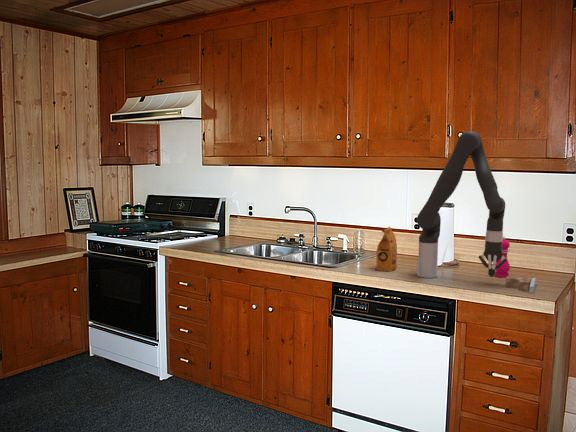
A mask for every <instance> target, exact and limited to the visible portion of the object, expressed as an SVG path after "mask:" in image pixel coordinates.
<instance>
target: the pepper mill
mask: <svg viewBox="0 0 576 432" xmlns="http://www.w3.org/2000/svg"><path fill="white" fill-rule="evenodd" d="M510 246H511V245H510V241H508V239H506V236H504V235H503V243H502V253H503V256H504V257H505V258H507V261H506V262H505V263H504V264H503V265H502V266H501V267H500V268H497V269H495V275H494V277H497V278H501V277H502V279H503V278H505V279H506V277H507V276H508V277H510V276H509V271H510V270H511V266H510V262H509V260H508V253H509V248H510ZM501 259H502V258H500V259H499V261H497V263H496V265H498V264H499V263H500V262H501Z"/></svg>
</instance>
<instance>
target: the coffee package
mask: <svg viewBox="0 0 576 432" xmlns="http://www.w3.org/2000/svg"><path fill="white" fill-rule="evenodd" d="M381 232H382V233H384V234H382V238H381V240H380V241H379V242H378V244H377V249H376V267H375V268H376V270H377V271H378V272H379V271H380V272H386V273H389V272H392V271H396V269H397V265H398V264H397V259H398V258H397V255H398V246H397V237H396V235H395V233H394V231H393V230H392V228H391V227H390V226H387V228H383V229H382V230H381Z"/></svg>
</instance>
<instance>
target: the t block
mask: <svg viewBox="0 0 576 432" xmlns="http://www.w3.org/2000/svg"><path fill="white" fill-rule="evenodd" d="M531 281H532V278H531V277H530V276H524V275H523V276H520V277H516V276H509V277H508V276H507V277H506V278H505V285H504V286H505V288H511V289H513V288H514V289H518V291H521V292H529V288H530V284H531Z"/></svg>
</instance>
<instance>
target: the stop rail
mask: <svg viewBox="0 0 576 432" xmlns="http://www.w3.org/2000/svg"><path fill="white" fill-rule="evenodd" d="M536 282H537V278H536V277H532V278H531V281H530V288H529V290H528V293H529V294H534V291H535V287H536V284H537V283H536Z"/></svg>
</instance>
